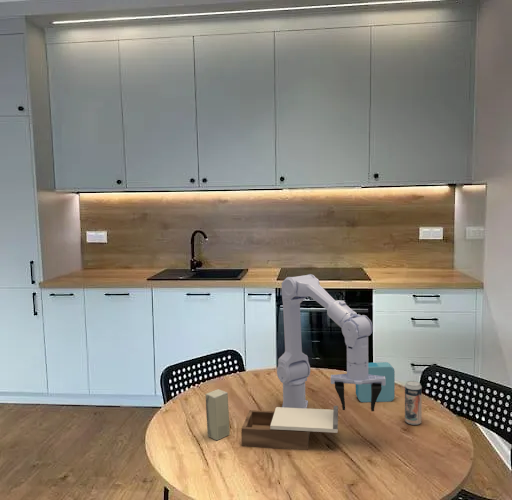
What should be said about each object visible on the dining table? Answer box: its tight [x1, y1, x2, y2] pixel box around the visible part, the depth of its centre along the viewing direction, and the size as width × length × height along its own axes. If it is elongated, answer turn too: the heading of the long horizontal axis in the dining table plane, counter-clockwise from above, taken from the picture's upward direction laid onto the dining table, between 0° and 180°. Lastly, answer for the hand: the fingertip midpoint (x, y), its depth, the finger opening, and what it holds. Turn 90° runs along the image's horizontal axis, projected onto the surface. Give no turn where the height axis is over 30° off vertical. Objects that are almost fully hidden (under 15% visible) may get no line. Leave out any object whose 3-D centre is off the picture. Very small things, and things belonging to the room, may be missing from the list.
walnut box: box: [241, 409, 311, 451], centre depth 136 cm, size 12×18×5 cm, turn 80°
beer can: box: [404, 380, 423, 426], centre depth 143 cm, size 5×5×12 cm
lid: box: [270, 405, 339, 434], centre depth 135 cm, size 12×18×2 cm, turn 80°
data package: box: [355, 361, 396, 403], centre depth 161 cm, size 12×4×12 cm, turn 90°
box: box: [205, 388, 231, 441], centre depth 138 cm, size 5×4×13 cm
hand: (358, 409), depth 132 cm, fingers open, 7 cm apart
